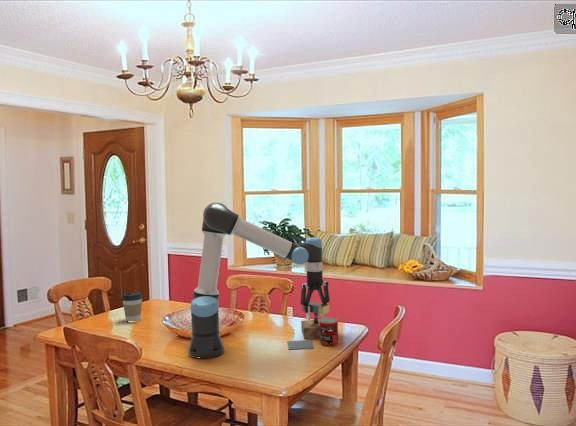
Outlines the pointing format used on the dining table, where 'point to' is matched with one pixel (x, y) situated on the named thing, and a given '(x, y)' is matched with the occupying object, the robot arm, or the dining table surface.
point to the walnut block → (310, 329)
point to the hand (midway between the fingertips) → (315, 318)
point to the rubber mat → (300, 345)
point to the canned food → (329, 331)
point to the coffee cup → (132, 305)
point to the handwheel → (318, 309)
